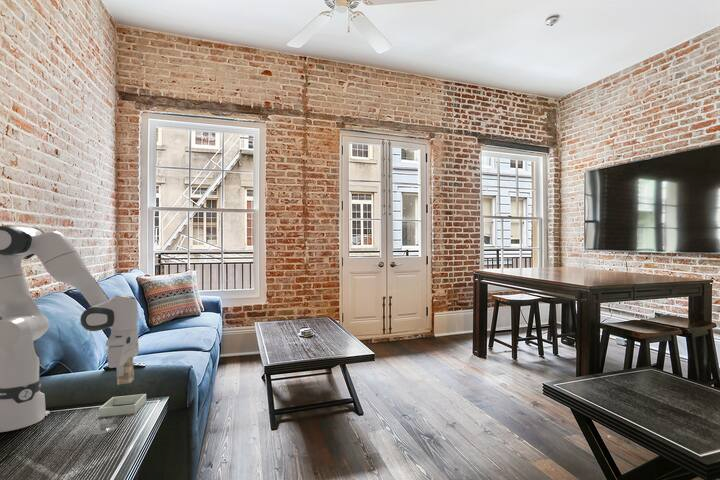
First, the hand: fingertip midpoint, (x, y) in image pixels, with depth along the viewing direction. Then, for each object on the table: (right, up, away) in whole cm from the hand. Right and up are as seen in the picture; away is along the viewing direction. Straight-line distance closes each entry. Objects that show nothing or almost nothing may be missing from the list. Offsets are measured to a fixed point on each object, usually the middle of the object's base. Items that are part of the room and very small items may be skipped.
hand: (124, 373), depth 141 cm
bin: (0, -14, -1) cm, 14 cm away
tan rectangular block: (0, -3, 0) cm, 3 cm away
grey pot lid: (+4, -13, -18) cm, 23 cm away
